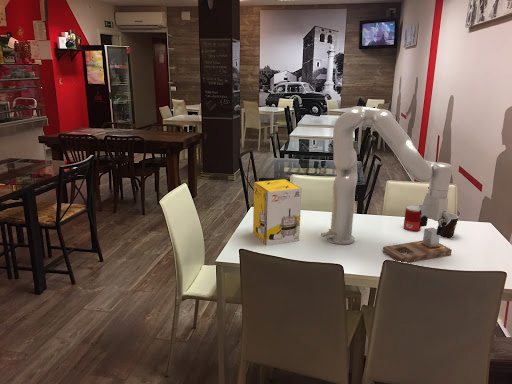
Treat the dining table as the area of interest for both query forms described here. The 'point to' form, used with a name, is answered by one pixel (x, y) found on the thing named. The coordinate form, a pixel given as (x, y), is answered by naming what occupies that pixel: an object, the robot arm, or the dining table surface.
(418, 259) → the socket board
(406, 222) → the canned food
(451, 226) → the coffee mug
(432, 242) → the metal block
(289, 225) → the packaging box
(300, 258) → the dining table surface
